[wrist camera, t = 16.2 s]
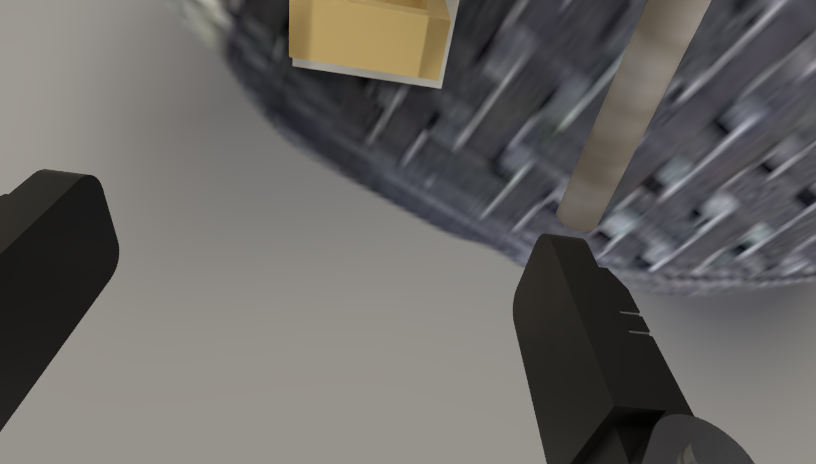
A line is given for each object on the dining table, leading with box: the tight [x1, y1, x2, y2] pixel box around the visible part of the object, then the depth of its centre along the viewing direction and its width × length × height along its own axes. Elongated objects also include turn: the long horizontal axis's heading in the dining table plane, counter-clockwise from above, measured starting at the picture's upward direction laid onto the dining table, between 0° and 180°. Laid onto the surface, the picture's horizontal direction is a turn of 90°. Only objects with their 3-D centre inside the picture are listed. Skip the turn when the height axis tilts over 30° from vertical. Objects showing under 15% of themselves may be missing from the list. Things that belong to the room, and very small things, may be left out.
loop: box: [289, 0, 451, 81], centre depth 22 cm, size 6×2×8 cm, turn 81°
